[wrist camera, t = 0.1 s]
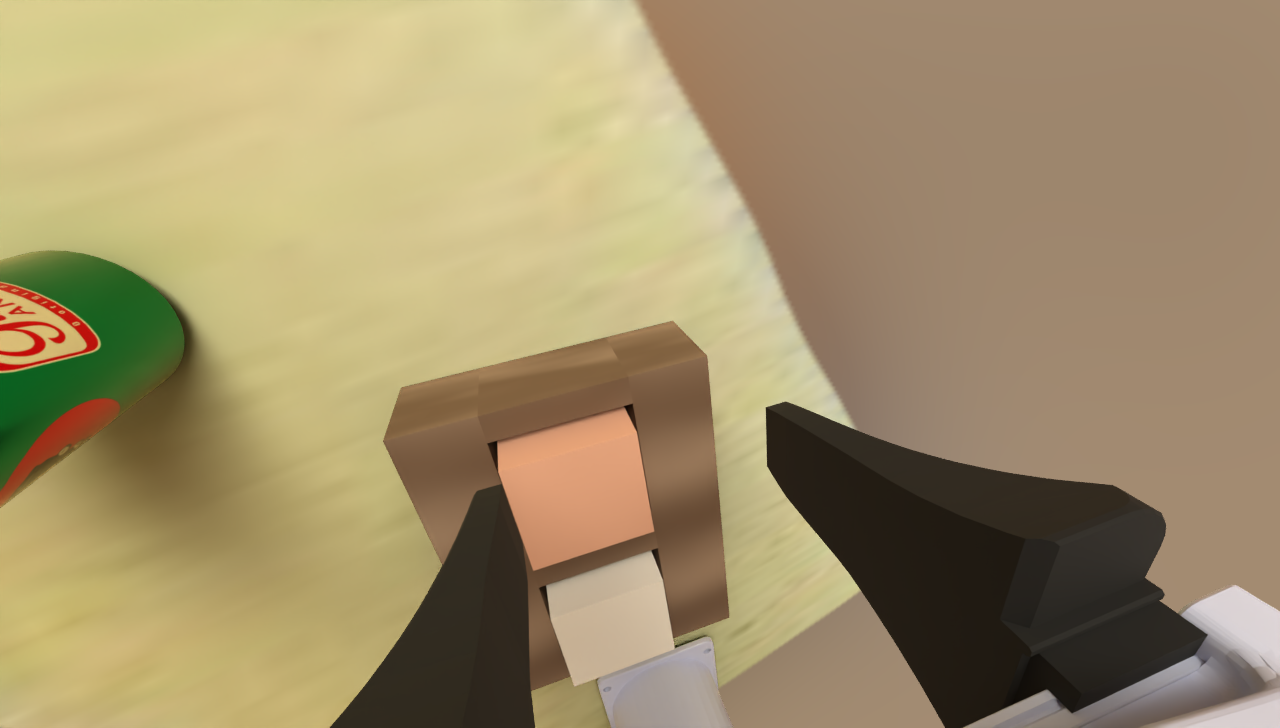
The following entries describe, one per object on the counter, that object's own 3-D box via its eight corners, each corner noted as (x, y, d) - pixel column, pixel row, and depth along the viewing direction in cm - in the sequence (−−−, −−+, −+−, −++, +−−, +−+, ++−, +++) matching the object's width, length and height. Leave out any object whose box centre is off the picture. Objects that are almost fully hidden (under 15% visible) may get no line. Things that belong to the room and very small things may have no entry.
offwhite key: (659, 605, 26) (674, 648, 24) (566, 638, 25) (574, 686, 23) (646, 538, 23) (662, 580, 21) (544, 572, 23) (550, 619, 20)
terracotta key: (637, 492, 22) (654, 531, 20) (528, 525, 21) (533, 570, 19) (620, 399, 20) (636, 432, 18) (497, 433, 19) (498, 472, 17)
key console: (701, 560, 30) (729, 617, 26) (504, 628, 28) (507, 699, 24) (673, 320, 22) (707, 356, 19) (401, 387, 20) (383, 441, 17)
